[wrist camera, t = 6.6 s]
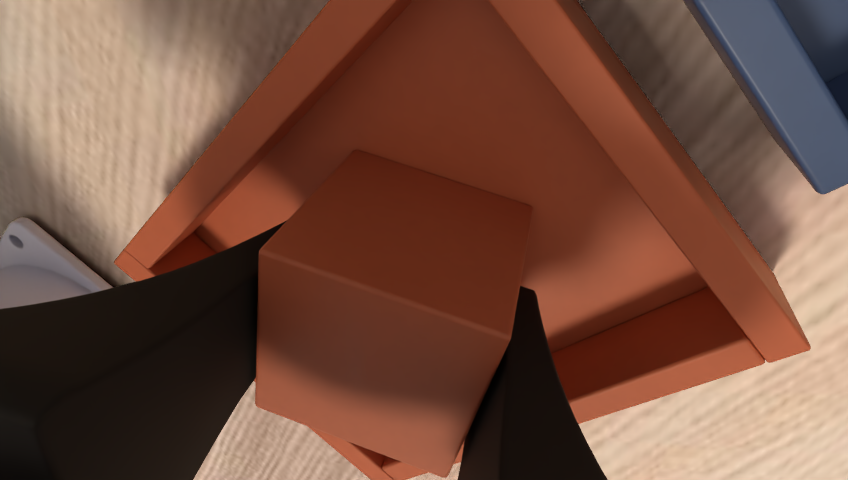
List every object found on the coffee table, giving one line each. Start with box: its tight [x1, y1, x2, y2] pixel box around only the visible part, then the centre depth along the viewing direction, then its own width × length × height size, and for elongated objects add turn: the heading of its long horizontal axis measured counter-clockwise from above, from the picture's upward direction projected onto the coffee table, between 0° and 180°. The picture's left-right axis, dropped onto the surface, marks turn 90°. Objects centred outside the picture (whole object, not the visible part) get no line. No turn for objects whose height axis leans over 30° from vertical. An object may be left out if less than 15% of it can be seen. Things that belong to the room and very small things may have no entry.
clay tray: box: [114, 0, 810, 480], centre depth 13 cm, size 13×11×2 cm
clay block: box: [255, 150, 533, 478], centre depth 11 cm, size 4×4×4 cm
